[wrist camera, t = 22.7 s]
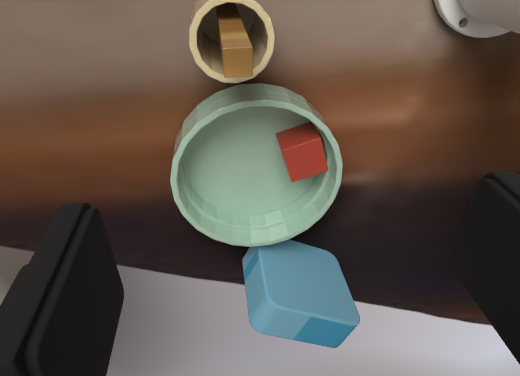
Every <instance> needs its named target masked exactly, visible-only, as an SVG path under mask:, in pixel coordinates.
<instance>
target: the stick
mask: <svg viewBox="0 0 520 376" xmlns="http://www.w3.org/2000/svg"><path fill="white" fill-rule="evenodd" d="M216 14H217V24H218V32H219V40H220V48H221V56H222V64H223V72H224V78H232V77H250V76H253V51H252V45H251V43H250V40H249V38H248V35H247V32H246V30H245V27H244V25H243V22H242V20H241V17H240V14H239V12H238V9H237V7H236V4H235V3H229V2H227V3H224V4H221V5H218V6H216Z"/></svg>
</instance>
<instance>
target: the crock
mask: <svg viewBox="0 0 520 376" xmlns="http://www.w3.org/2000/svg"><path fill="white" fill-rule="evenodd" d="M227 2H229V3H235V4H236V7H237V9H238V12H239V14H240V17H241V20H242V22H243V25H244V27H245V30H246V32H247V35H248V38H249V40H250V43H251V45H252V51H253V76H250V77H232V78H224V72H223V64H222V56H221V48H220V40H219V32H218V24H217V14H216V6H218V5H221V4H224V3H227ZM274 41H275V33H274V30H273V26H272V22H271V19H270V17H269V16H268V14H267V13H266V12H265V10H264V9H263V7H262V6H261V5H260V3H259V2H258V0H195V2H194V4H193V9H192V16H191V23H190V29H189V46H190V50H191V52H192V55H193V57H194V60H195V62H196V64H197V65H198V66H199V67H200V68H201V69H202V70H203V71H204V72H205V73H206V74H207V75H208V76H210V77H212V78H214V79H216V80H218V81H220V82H225V83H240V82H243V81H246V80H249V79H252V78H254V77H255V76H256V75H257V74H259V73H260V72H261V71H262V70H263V69H264V68H265V67H266V65H267V64H268V62H269V60H270V58H271V56H272V54H273V50H274Z"/></svg>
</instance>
